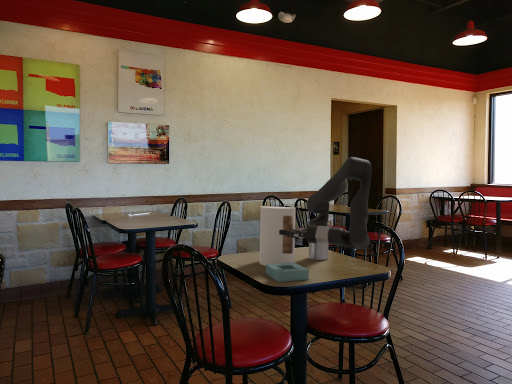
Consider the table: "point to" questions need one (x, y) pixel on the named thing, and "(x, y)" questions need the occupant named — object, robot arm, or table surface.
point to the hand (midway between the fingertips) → (282, 231)
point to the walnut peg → (287, 241)
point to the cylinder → (274, 235)
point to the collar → (287, 272)
